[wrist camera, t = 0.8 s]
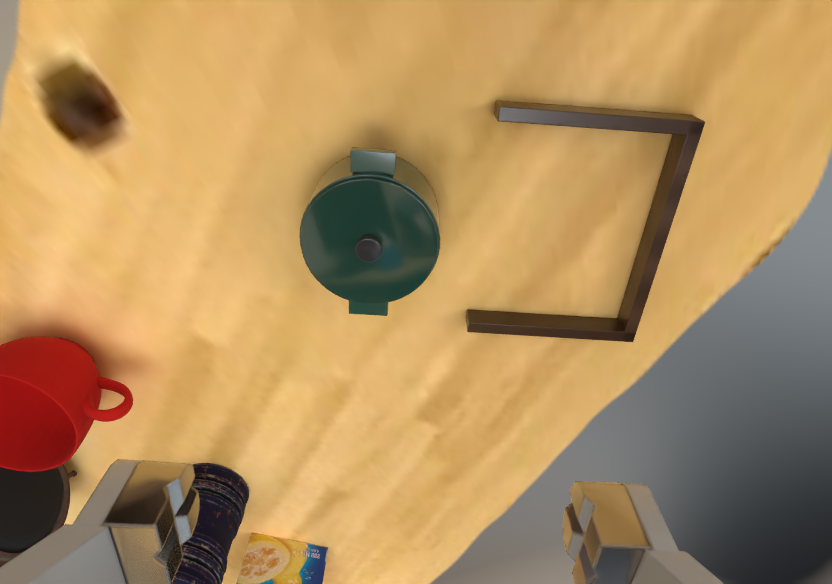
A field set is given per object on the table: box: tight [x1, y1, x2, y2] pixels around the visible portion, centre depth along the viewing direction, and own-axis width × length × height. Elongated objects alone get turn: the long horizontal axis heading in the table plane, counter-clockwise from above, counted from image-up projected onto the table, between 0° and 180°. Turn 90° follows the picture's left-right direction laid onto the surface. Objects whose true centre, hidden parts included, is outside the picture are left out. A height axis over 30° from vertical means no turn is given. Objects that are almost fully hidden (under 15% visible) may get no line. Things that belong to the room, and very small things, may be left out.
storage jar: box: [172, 463, 249, 584], centre depth 66 cm, size 10×10×15 cm
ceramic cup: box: [0, 337, 133, 472], centre depth 57 cm, size 13×17×10 cm
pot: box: [300, 147, 440, 316], centre depth 49 cm, size 15×12×8 cm
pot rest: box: [466, 101, 705, 342], centre depth 52 cm, size 22×17×2 cm
